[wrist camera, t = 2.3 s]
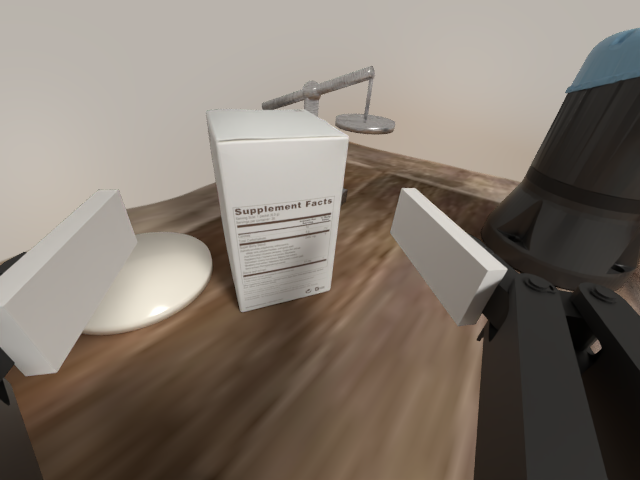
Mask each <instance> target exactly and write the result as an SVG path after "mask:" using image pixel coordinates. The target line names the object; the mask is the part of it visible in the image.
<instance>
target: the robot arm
mask: <svg viewBox="0 0 640 480" xmlns="http://www.w3.org/2000/svg"><path fill="white" fill-rule="evenodd" d="M565 93H568V94H567V96H566V98H565V100H564V102H563V104H562V106H561V108H560V110H559V112H558V114H557V116H556V118H555V120H554V122H553V123H552V125H551V128H550V129H549V131H548V133H547V135H546V137H545V139H544V141H543V143H542V144H541V147H540V148H539V150H538V152H537V154H536V156H535V158H534V160H533V162H532V164H531V166H530V168H529V170H528V172H527V174H526V176H525V177H524V179H523V181H522V182H521V183H520V184H519V185H518V186H517V187H516V188H515V189H514V190H513V191H512V192H511V193H510V194H509V195H508V196H507V197H506V198H505V199H504V200H503V201H502V202H501V203H500V204H499V205H498V206H497V207H496V208H495V209H494V210H493V211H492V212H491V213H490V215H489V216H488V218H487V220H486V222H485V224H484V226H483V228H482V231H481V235H482V238H483V241H484V242H485V244H486V245H487V246H488V248H487V246H486V245H485V244H484V243H483V242H481V241H480V240H479V239H477V238H476V237H474V236H472V235H470V234H468V233H466V232H465V231H463V230H462V229H461V228H460V227H459V226H458V225H457V224H455V223H454V222H453V221H452V220H451V219H450V218H449V217H447V216H446V215H445V214H444V213H443V212H442V211H441V210H439V209H438V208H437V207H436V206H435V205H434V204H433V203H431V202H430V201H429V200H428V199H427V198H426V197H425V196H423V195H422V194H421V193H420V192H419V191H418V190H417V189H415V188H402V189H401V192H400V196H399V200H398V204H397V208H396V212H395V216H394V220H393V223H392V227H391V231H390V233H391V235H392V236H393V237H394V239H395V240H396V242H397V243H398V244H399V246H400V247H401V248H402V250H403V251H404V253H405V254H406V255H407V257H408V258H409V259H410V261H411V262H412V264H413V265H414V266H415V268H416V269H417V270H418V272H419V273H420V275H421V276H422V277H423V279H424V280H425V281H426V283H427V284H428V286H429V287H430V288H431V290H432V291H433V292H434V294H435V295H436V297H437V298H438V299H439V301H440V302H441V303H442V305H443V306H444V308H445V309H446V310H447V312H448V313H449V314H450V316H451V317H452V319H453V320H454V321H455V323H456V324H457V325H458V326H464V325H472V324H476V322H477V321H478V319H479V317H480V316H481V314H482V313H483V314H484V316H485V317H486V318H487V319H488V321H487V323H486V325H485V326H484V328H483V329H482V331H481V333H480V334H479V336H478V338H477V341H480V340H481V338H483V337H484V341H483V355H482V369H481V383H480V397H479V412H478V426H477V440H476V454H475V468H474V480H640V316H639V315H638V314H637V313H636V311H635V310H634V309H633V308H632V307H631V306H630V305H629V304H628V303H627V301H626V300H624V299H623V298H622V297H621V296H620V295H618V294H617V293H615V292H613V291H616V290H618V289H619V288H621V287H622V285H623V284H624V283H625V282H626V281H627V280H628V279H629V278H630V277H631V276H632V275H633V274H634V272H635V270H636V268H637V265H638V262H639V259H640V28H636V29H631V30H627V31H623V32H619V33H617V34H614V35H612V36H610V37H608V38H606V39H604V40H603V41H601V42H600V43H599V44H598V45H597V46H595V47H594V48H593V50H592V51H591V52H590V54H589V55H588V57H587V59H586V60H585V62H584V64H583V66H582V67H581V69H580V71H579V73H578V74H577V76H576V78H575V80H574V81H573V83H572V85H571V86H570V87H568V88H567V90H566V92H565ZM137 243H138V242H137V239H136V237H135V234H134V231H133V228H132V225H131V223H130V220H129V217H128V214H127V211H126V208H125V206H124V203H123V200H122V197H121V194H120V191H119V190H97V191H96V192H95V193H94V194H93V195H92V196H91V197H89V198H88V199H87V200H86V201H85V202H84V203H83V204H82V205H80V206H79V207H78V208H77V209H76V210H75V211H74V212H72V213H71V214H70V215H69V216H68V217H67V218H66V219H65V220H63V221H62V222H61V223H60V224H59V225H58V226H57V227H56V228H54V229H53V230H52V231H51V232H50V233H49V234H48V235H47V236H45V237H44V238H43V239H42V240H41V241H40V242H38V243H37V244H36V245H35V246H34V247H33V248H32V249H31V250H29V251H28V252H23V253H21V254H19V255H17V256H15V257H13V258H12V259H10V260H8V261H6V262H4V263H3V264H2V265H1V266H0V480H43V477H42V474H41V471H40V468H39V466H38V463H37V460H36V457H35V454H34V451H33V448H32V445H31V442H30V439H29V436H28V433H27V430H26V427H25V424H24V422H23V419H22V416H21V413H20V410H19V407H18V404H17V401H16V398H15V395H14V392H13V389H12V386H11V384H10V383H9V382H8V381H7V380H6V379H5V378H4V377H5V375H6V374H7V373H8V371H9V370H10V369H11V368H12V366H13V365H15V366H16V367H17V368H18V369H19V370H20V371H21V372H22V373H23V374H24V375H25V376H33V375H41V374H50V373H57V372H58V370H59V369H60V367H61V365H62V364H63V362H64V361H65V359H66V357H67V356H68V354H69V352H70V351H71V349H72V348H73V346H74V344H75V343H76V341H77V340H78V338H79V336H80V335H81V333H82V331H83V330H84V328H85V327H86V325H87V323H88V322H89V320H90V319H91V317H92V315H93V314H94V312H95V310H96V309H97V307H98V306H99V304H100V302H101V301H102V299H103V298H104V296H105V294H106V293H107V291H108V289H109V288H110V286H111V285H112V283H113V281H114V280H115V278H116V277H117V275H118V273H119V272H120V270H121V269H122V267H123V265H124V264H125V262H126V260H127V259H128V257H129V256H130V254H131V252H132V251H133V249H134V248H135V246H136V244H137ZM507 263H508V264H509V265H511V266H513V267H514V268H516V269H518V270H520V271H522V272H523V273H520V274H519V273H518V272H516V271H515V270H514V269H513V268H512V267H511V266H509V265H508V264H507ZM553 285H555V286H559V287H562V288H566V289H570V290H575V291H574V292H573V293H572V292H566V291H560V290H557V288H556V287H555V286H553ZM597 339H598V340H599V342H600V344H601V347H602V349H601V350H600V351H599V352H598V353H596V354H594V353H593V351H592V350H591V348H590V346H591V345H592V344H593V343H594V342H595V341H596V340H597Z"/></svg>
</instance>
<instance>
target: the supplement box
mask: <svg viewBox="0 0 640 480" xmlns="http://www.w3.org/2000/svg"><path fill="white" fill-rule="evenodd" d="M206 117H207V125H208V133H209V140H210V147H211V154H212V160H213V167H214V173H215V179H216V186H217V193H218V199H219V205H220V211H221V218H222V223H223V229H224V235H225V241H226V246H227V251H228V256H229V261H230V266H231V271H232V276H233V281H234V285H235V290H236V295H237V299H238V304H239V309H240V311H241V312H246V311H250V310H254V309H258V308H262V307H266V306H270V305H274V304H278V303H282V302H286V301H290V300H294V299H298V298H302V297H306V296H310V295H314V294H318V293H322V292H326V291H329V290H330V287H331V279H332V270H333V262H334V254H335V246H336V238H337V230H338V222H339V214H340V205H341V197H342V190H343V182H344V174H345V166H346V158H347V149H348V141H349V137H348V135H346V134H345V133H343V132H341V131H340V130H338V129H336V128H335V127H333V126H331V125H330V124H329V123H328V122H327V121H325V120H323V119H321V118H318V117H317V116H315V115H313V114H312V113H310V112H308V111H307V110H242V109H215V110H207V111H206Z"/></svg>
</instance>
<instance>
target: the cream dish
mask: <svg viewBox="0 0 640 480" xmlns="http://www.w3.org/2000/svg"><path fill="white" fill-rule="evenodd" d="M135 237H136V239H137V242H138V243H137V244H136V246H135V248H134V249H133V251H132V252H131V254H130V256H129V257H128V259H127V260H126V262H125V264H124V265H123V267H122V269H121V270H120V272H119V273H118V275H117V277H116V278H115V280H114V281H113V283H112V285H111V286H110V288H109V289H108V291H107V293H106V294H105V296H104V298H103V299H102V301H101V302H100V304H99V306H98V307H97V309H96V310H95V312H94V314H93V315H92V317H91V319H90V320H89V322H88V323H87V325H86V327H85V328H84V330H83V331H82V333H83V334H89V335H112V334H120V333H125V332H130V331H134V330H138V329H141V328H145V327H148V326H150V325H153V324H155V323H158V322H160V321H162V320H164V319H166V318H169V317H170V316H172V315H174V314H176V313H177V312H179V311H181V310H182V309H183V308H185V307H186V306H188V305H189V304H190V303H191V302H193V301H194V300H195V299H196V298H197V297H198V296H199V295H200V294H201V293H202V292H203V290H204V289H205V288H206V286H207V284H208V283H209V281H210V279H211V276H212V272H213V263H212V258H211V254H210V251H209V249H208V247H207V246H206V245H205V244H204V243H203V242H201V241H200V240H198V239H197V238H195V237H192V236H189V235H186V234H182V233H175V232H150V233H142V234H137V235H135Z"/></svg>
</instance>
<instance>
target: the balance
mask: <svg viewBox="0 0 640 480" xmlns="http://www.w3.org/2000/svg"><path fill="white" fill-rule="evenodd" d="M374 76H375V73H374V69H373V66H370V67H367V68H364V69H361V70H358V71H355V72H352V73H349V74H347V75H343V76H341V77H338V78H335V79H332V80H329V81H326V82H323V83H320V84H318V83H317V82H315V81H309V82H307V83H306V84H305V85H304V86H303V89H302V90H300V91H296V92H293V93H291V94H288V95H285V96H282V97H279V98H276V99H273V100H270V101H267V102H265V103H262V109H263V110H274V109H277V108H280V107H284V106H287V105H290V104H293V103H296V102H299V101H302V100H304V110H307V111H308V112H310V113H312V114H313V115H315V116H317V117H318V104H319V99H320V97H321V95H322V94H325V93H328V92H332V91H335V90H338V89H341V88H344V87H347V86H351V85H354V84H357V83H360V82H363V81H367V80H369V86H368V94H367V100H366V107H365V114H342V115H338V116H336V123H335V125H336V126H337V127H338V128H340V129H343V130H346V131H350V132H355V133H363V134H388V133H391V132H393V131H394V127H395V122H394V121H392V120H390V119H388V118H384V117H379V116H373V115H368V110H369V104H370V97H371V90H372V84H373V78H374ZM346 197H347V189H344V188H343V190H342V197H341V205H342V204H343V203H345V202H346ZM341 205H340V206H341Z"/></svg>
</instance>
